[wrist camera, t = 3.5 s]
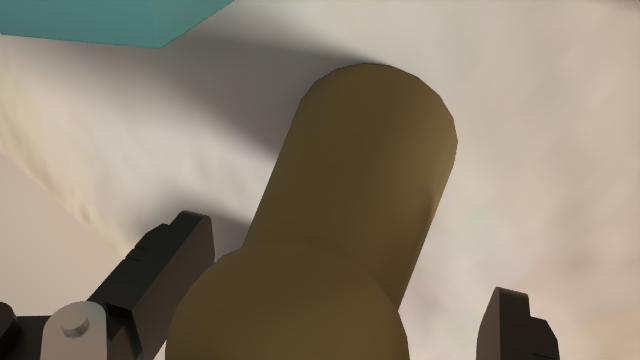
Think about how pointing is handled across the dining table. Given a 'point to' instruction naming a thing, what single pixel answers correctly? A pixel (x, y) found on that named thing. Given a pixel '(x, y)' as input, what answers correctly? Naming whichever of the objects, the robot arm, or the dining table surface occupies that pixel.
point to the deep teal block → (106, 19)
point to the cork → (330, 229)
